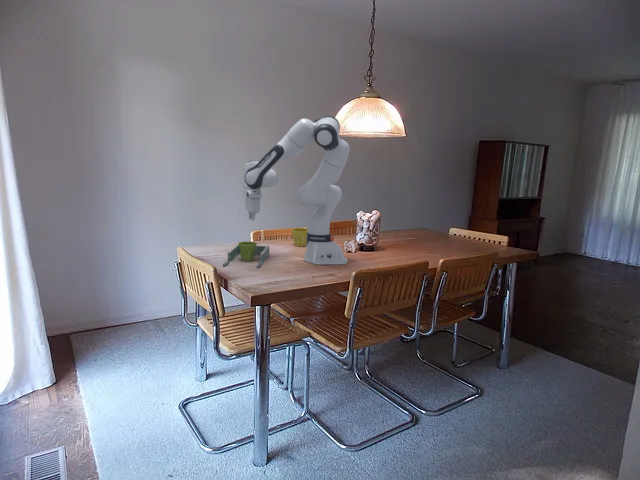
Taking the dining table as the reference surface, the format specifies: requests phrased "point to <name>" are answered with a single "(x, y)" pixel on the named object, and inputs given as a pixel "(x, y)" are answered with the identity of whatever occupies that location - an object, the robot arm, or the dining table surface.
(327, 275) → the dining table surface
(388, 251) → the dining table surface
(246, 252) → the plant pot
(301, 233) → the plant pot
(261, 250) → the green u-shaped frame
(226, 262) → the strips
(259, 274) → the dining table surface
